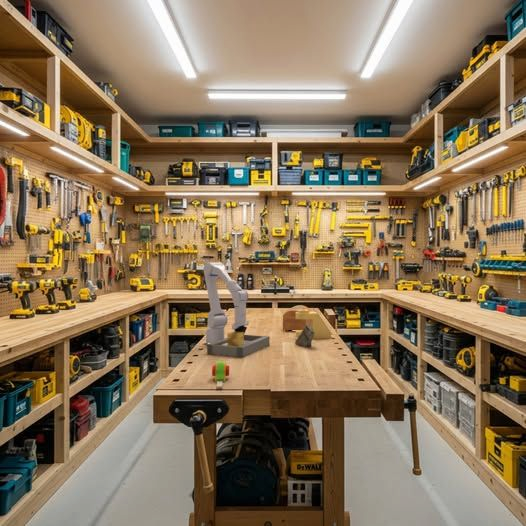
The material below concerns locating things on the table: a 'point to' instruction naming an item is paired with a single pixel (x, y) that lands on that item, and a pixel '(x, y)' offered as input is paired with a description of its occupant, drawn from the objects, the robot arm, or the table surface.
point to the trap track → (249, 346)
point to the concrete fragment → (305, 337)
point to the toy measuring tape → (220, 373)
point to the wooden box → (294, 319)
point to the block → (235, 338)
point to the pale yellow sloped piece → (314, 324)
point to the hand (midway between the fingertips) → (240, 341)
